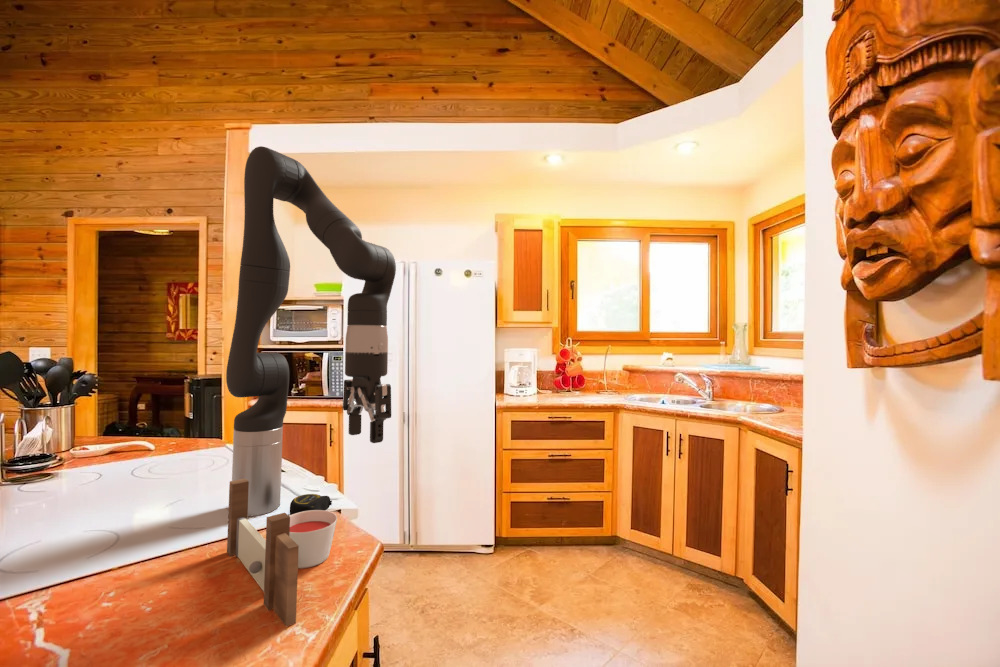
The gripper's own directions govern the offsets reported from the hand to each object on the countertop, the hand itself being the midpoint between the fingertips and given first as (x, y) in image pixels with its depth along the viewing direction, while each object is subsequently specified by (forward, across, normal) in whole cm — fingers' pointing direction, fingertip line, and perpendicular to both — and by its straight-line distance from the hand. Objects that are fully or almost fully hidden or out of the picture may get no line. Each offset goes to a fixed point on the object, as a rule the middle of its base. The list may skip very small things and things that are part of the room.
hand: (365, 438), depth 79 cm
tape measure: (+19, -17, -3) cm, 26 cm away
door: (+18, -1, -19) cm, 26 cm away
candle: (+19, 0, -10) cm, 21 cm away
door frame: (+19, +2, -18) cm, 26 cm away
